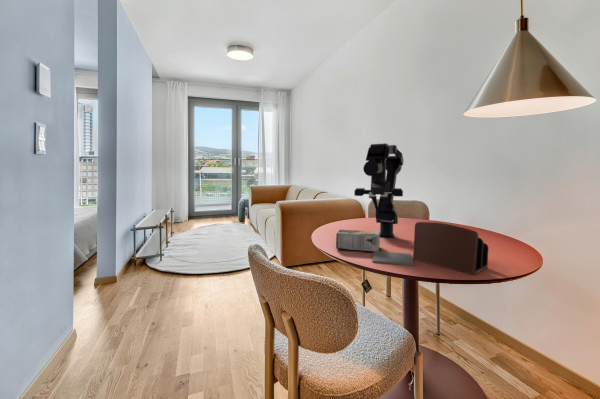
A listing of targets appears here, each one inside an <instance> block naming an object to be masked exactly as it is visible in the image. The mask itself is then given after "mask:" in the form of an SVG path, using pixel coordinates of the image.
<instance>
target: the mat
mask: <svg viewBox="0 0 600 399" xmlns="http://www.w3.org/2000/svg"><path fill="white" fill-rule="evenodd" d="M372 252H373V254H372V264H373V263H375V264H388V265H399V266H412V267H413V266H414V264H415V263H414V259H413V255H412V254H411V253H408V252H393V251H392V252H391V251H378V252H376V251H372Z"/></svg>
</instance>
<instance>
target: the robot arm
mask: <svg viewBox="0 0 600 399" xmlns="http://www.w3.org/2000/svg"><path fill="white" fill-rule="evenodd" d="M365 161H366V162H365V163H364V164H363V172H364V174H365V175H367V176H368V177H370V189H366V188H365V187H357V188H355V189H354V196H355V197H357V196H358V197H363V196H364V195H368V199H371V201H372V203H373V205H374V208H375V222H376V223H379V227H380V228H379V232H380V238H395V233H394V225H398V224H399V218H398V214H397V211H396V207H395V205H394V197H403V196H404V191H403V189H402V188H401V187H400V188H399V187H397V188H396V183H397V175H398V174H399V173H401V170H402V167H403V165H404V157H403V153H402V152H401V151H400V150H399V149H398V147H397V145H396V144H388V143H385V142H384V143H371V144H370V146H369V147H368V150H367V154H366V158H365ZM377 195H379V200H377Z"/></svg>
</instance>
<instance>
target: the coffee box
mask: <svg viewBox="0 0 600 399" xmlns="http://www.w3.org/2000/svg"><path fill="white" fill-rule="evenodd" d="M380 238H381V237H380V231H376V230H375V231H372V230H371V231H370V230H352V229H350V230H349V229H339V230H338V231H337V232H336V237H335V247H336V248H335V249H338V250H349V251H350V250H352V251H364V252H374V251H376V252H378V251H379V250H380V243H381V241H380ZM379 252H380V251H379Z"/></svg>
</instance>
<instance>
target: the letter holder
mask: <svg viewBox="0 0 600 399" xmlns="http://www.w3.org/2000/svg"><path fill="white" fill-rule="evenodd" d="M413 237H414V238H413V252H412V260H417V261H420V262H424V263H428V264H430V265H434V266H439V267H442V268H446V269H450V270H453V271H457V272H459V273H460V272H461V273H465V274H467V275H471V276H476V275H478V274H479V273H481V272H483V271H484V270H486V269H487V268H488V264H489V262H488V260H489V259H488V258H489V245H488V244H487V243H485V242H484V240H483V239H482V238H480V237H479V233H478V232H477V231H475V230H473V229H469V228H466V227H461V226H457V225H453V224H447V223H441V222H430V221H420V222H419V221H418V222H415V224H414V236H413Z"/></svg>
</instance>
